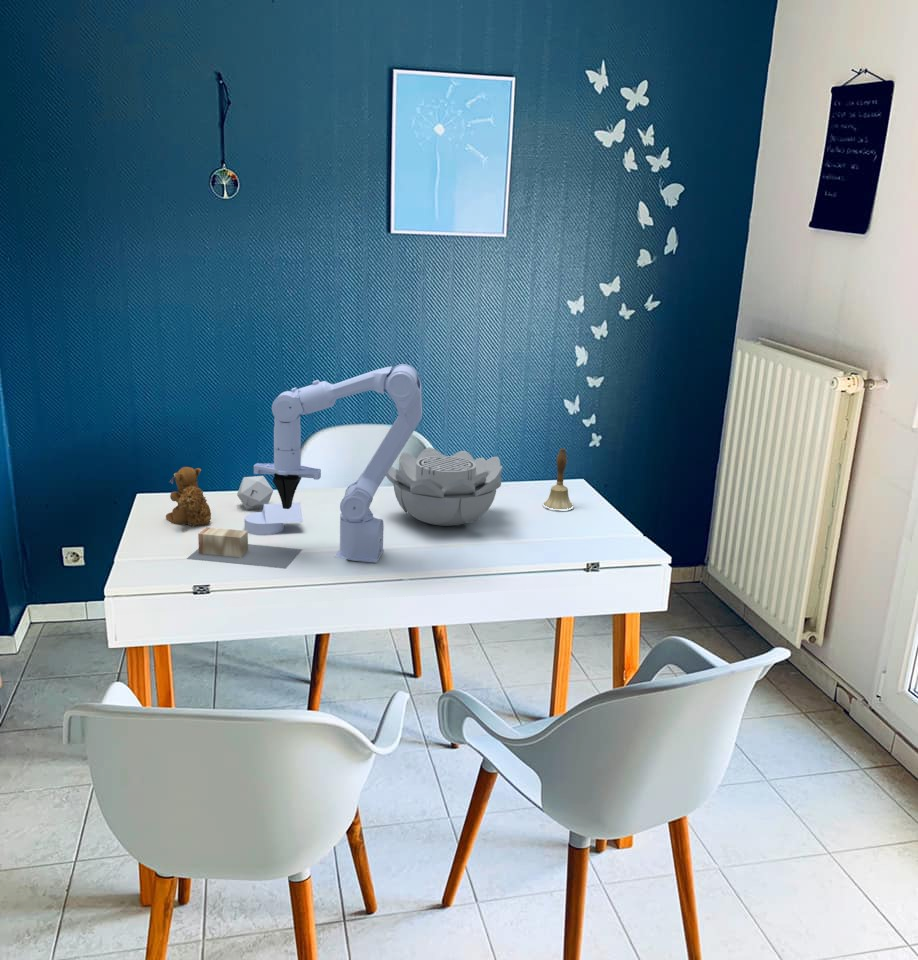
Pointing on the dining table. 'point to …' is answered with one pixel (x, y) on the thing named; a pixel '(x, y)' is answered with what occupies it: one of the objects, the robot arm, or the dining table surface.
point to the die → (254, 492)
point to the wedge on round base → (272, 519)
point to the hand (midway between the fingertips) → (287, 507)
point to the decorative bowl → (445, 486)
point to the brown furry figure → (189, 499)
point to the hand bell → (559, 486)
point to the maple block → (223, 542)
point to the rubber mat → (255, 556)
